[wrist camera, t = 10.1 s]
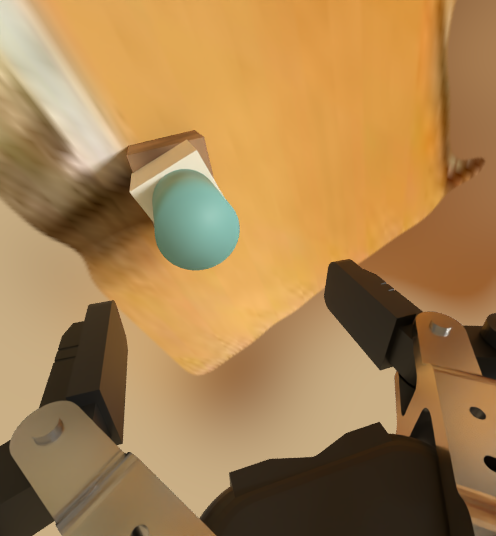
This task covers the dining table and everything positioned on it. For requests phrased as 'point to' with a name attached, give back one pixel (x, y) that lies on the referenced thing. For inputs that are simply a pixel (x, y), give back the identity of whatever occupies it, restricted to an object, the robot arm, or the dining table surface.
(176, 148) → the cream block
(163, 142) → the walnut block
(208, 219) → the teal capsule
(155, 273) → the dining table surface
